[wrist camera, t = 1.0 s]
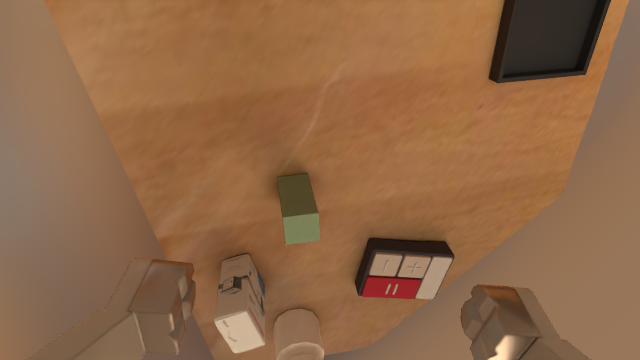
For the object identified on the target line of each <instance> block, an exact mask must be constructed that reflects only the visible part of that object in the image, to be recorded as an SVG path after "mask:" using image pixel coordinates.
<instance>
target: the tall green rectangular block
mask: <svg viewBox="0 0 640 360" xmlns="http://www.w3.org/2000/svg"><path fill="white" fill-rule="evenodd" d="M277 178H278V187H279V195H280V203H281V211H282V219H283V227H284V235H285V244H286V245H291V244H298V243H305V242H312V241H319V240H320V232H319V213H318V209H317V206H316V202H315V198H314V195H313V191H312V187H311V184H310V180H309V176H308V173H306V174H298V175H290V176H281V177H277Z"/></svg>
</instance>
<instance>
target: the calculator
mask: <svg viewBox="0 0 640 360" xmlns="http://www.w3.org/2000/svg"><path fill="white" fill-rule="evenodd" d="M454 257H455V256H454V254H453V252H452V251H451V249H450V248H449V246H448V244H447V243H446V242H435V241H427V242H425V243H422V242H409V241H397V240H384V239H369V241H368V244H367V247H366V250H365V254H364V257H363V260H362V263H361V266H360V269H359V272H358V275H357V278H356V281H355V285H356V289H357V293H358V295H359V296H363V297H381V298H402V299H413V298H414V299H434V298H435V296H436V294H437V292H438V290H439V288H440V286H441V284H442V282H443V280H444V278H445V276H446V274H447V272H448V270H449V267H450V265H451V263H452V261H453V259H454Z"/></svg>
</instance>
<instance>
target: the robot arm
mask: <svg viewBox="0 0 640 360" xmlns="http://www.w3.org/2000/svg"><path fill="white" fill-rule="evenodd" d="M193 273H194V268H193V264H192V263H185V262H176V261H166V260H156V259H144V258H134V259H133V260H132V261H131V262H130V264H129V266H128V267H127V269H126V271H125V273H124V275H123V277H122V278H121V280H120V282H119V284H118V285H117V287H116V289H115V291H114V293H113V295H112V296H111V298H110V300H109V302H108V304H107V305H106V307H105V309H104V310H97V311H95V312H94V313H93V314H91V315H90V316H88V317H87V318H86V319H84V320H82V321H81V322H80V323H78V324H77V325H75V326H74V327H72V328H71V329H70V330H68V331H67V332H66V333H64V334H62V335H61V336H60V337H58V338H57V339H55V340H54V341H52V342H51V343H50V344H48V345H47V346H45V347H44V348H42V349H41V350H40V351H38V352H37V353H35V354H34V355H32V356H31V357H30V358H28V359H27V360H141V359H142V358H143V357H144V356H145V354H144V353H147V354H178V353H179V350H180V347H181V344H182V341H183V338H184V335H185V332H186V329H185V320H187V319H188V318H189V317H190V316H191V313H192V310H193V306H194V301H195V293H196V286H195V282H194V281H193V280H192V276H193ZM471 295H472V297H473V298H471V299H469V300H468V301H466V302H465V303H464V305H463V307H462V309H461V323H462V328H463V330H464V333H465V334H466V336H468V337H469V338H470V339H471V340H472V344H471V347H470V350H471V352H472V355H473V357H474V360H591V359H589V358H588V357H587V356H586V355H584V354H583V353H582V352H580V351H579V350H578V349H577V348H575V347H574V346H573V345H572V344H571V343H569V342H568V341H567V340H562V339H561V338H560V337H559V335H558V333H557V332H556V330H555V329H554V327H553V325H552V323H551V322H550V320H549V319H548V317H547V315H546V314H545V312H544V310H543V308H542V307H541V305H540V304H539V302H538V300H537V298H536V297H535V295H534V294H533V292H532V291H531V290H530V289H528V288H518V287H508V286H494V285H493V286H492V285H476V286H475V287H474V288H473V289H472V291H471Z"/></svg>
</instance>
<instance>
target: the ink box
mask: <svg viewBox="0 0 640 360" xmlns="http://www.w3.org/2000/svg"><path fill="white" fill-rule="evenodd" d="M214 322H215V325H216V327H217V328H218V330H219V331H220V333H221V334H222V335H223V337H224V339H225V340H226V341H227V343H228V345H229V347H230V348H231V349H232V351H233V352H234V353H237V354H238V353H242V352H245V351H248V350H251V349H255V348H258V347H261V346H264V345H265V298H264V285H263V283H262V281H261V278H260V276H259V274H258V272H257V270H256V268H255V266H254V264H253V262H252V260H251V258H250V256H249V254H245V255H240V256H236V257H233V258H229V259H226V260H223V261H222V264H221V272H220V280H219V288H218V295H217V303H216V310H215V317H214Z"/></svg>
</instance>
